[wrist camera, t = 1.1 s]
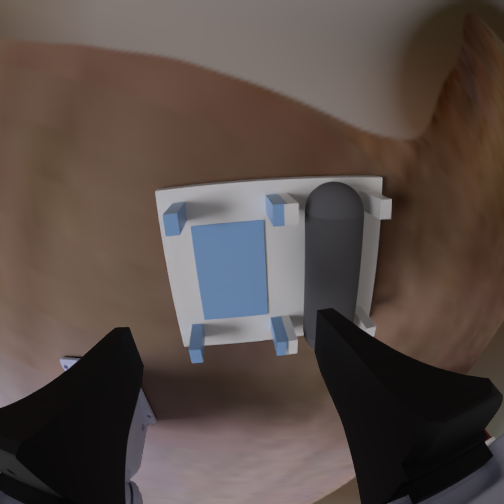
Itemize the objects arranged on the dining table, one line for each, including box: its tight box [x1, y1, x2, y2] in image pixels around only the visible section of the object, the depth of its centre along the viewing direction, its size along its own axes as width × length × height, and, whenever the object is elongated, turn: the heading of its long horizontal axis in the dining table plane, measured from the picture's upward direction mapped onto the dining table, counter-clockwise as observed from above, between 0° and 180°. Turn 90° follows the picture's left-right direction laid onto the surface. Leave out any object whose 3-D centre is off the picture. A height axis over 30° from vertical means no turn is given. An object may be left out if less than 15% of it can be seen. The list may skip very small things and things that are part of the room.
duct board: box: [155, 175, 392, 363], centre depth 19 cm, size 12×15×4 cm
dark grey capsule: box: [303, 181, 364, 349], centre depth 18 cm, size 12×4×4 cm, turn 3°
